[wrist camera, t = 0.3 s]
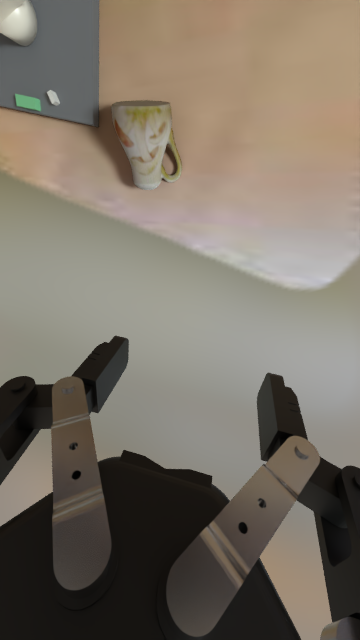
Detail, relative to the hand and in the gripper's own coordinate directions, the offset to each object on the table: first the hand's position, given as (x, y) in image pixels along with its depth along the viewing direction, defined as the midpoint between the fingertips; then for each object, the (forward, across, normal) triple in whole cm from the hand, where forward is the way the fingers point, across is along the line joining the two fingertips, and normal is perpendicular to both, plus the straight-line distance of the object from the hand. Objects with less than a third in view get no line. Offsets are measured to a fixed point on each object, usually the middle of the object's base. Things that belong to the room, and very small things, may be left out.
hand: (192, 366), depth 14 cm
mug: (+29, +12, -11) cm, 34 cm away
